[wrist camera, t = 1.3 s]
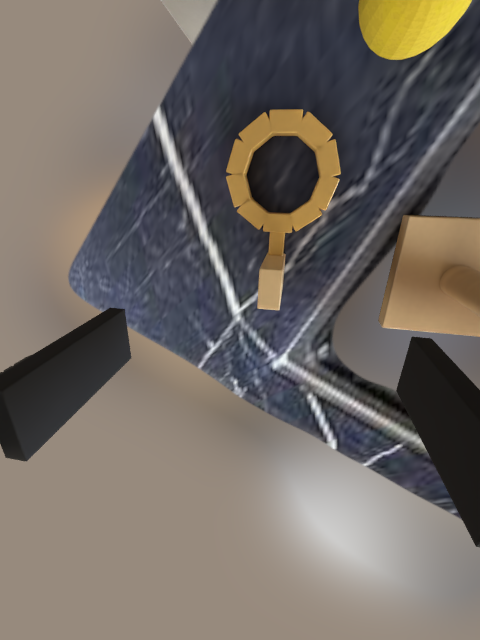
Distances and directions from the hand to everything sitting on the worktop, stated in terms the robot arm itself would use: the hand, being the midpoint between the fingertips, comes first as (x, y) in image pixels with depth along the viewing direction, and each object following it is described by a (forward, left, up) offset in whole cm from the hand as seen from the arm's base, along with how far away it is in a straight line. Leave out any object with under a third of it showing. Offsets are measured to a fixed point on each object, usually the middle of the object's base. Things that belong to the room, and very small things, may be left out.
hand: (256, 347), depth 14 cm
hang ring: (-5, 0, -14) cm, 15 cm away
